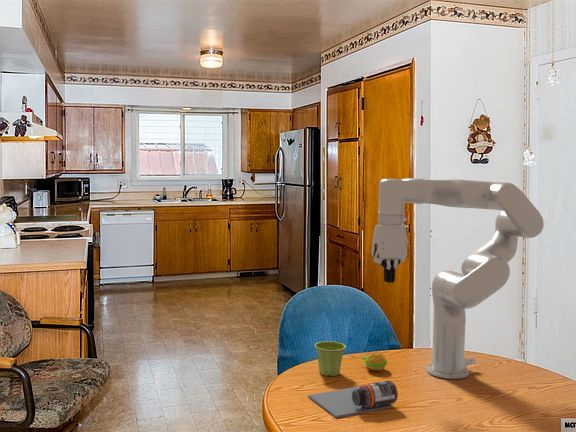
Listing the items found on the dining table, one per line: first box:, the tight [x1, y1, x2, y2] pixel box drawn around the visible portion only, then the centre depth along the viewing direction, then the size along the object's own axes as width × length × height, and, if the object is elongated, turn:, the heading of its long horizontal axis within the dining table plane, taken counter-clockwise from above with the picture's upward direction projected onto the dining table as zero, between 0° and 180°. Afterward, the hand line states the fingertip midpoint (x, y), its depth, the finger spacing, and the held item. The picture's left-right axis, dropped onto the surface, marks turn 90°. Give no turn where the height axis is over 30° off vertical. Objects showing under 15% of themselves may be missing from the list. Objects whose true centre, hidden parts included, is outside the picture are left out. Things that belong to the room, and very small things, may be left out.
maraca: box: [362, 352, 388, 372], centre depth 183 cm, size 7×10×5 cm
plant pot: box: [314, 340, 347, 377], centre depth 179 cm, size 9×9×9 cm
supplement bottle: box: [352, 380, 399, 408], centre depth 152 cm, size 6×6×11 cm
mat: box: [307, 385, 393, 419], centre depth 156 cm, size 17×15×1 cm
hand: (389, 281), depth 174 cm, fingers closed
